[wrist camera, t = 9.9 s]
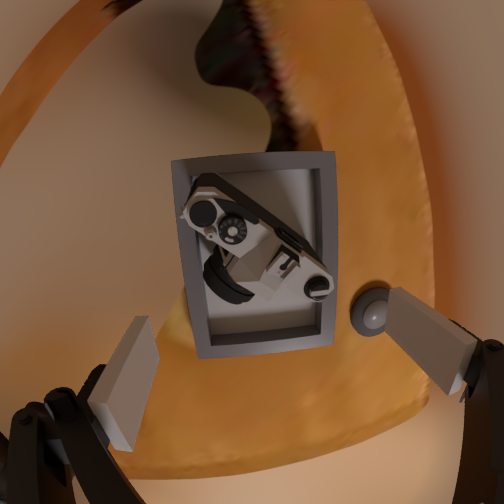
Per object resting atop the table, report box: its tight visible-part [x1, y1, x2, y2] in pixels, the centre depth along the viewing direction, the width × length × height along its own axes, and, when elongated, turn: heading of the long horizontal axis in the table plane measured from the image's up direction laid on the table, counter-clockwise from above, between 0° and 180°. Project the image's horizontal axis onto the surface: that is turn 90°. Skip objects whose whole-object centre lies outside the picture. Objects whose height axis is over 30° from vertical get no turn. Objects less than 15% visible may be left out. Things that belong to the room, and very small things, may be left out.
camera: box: [179, 172, 334, 305], centre depth 22 cm, size 13×8×9 cm, turn 57°
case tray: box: [171, 151, 338, 359], centre depth 26 cm, size 14×19×3 cm
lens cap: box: [350, 287, 389, 337], centre depth 30 cm, size 6×6×2 cm
